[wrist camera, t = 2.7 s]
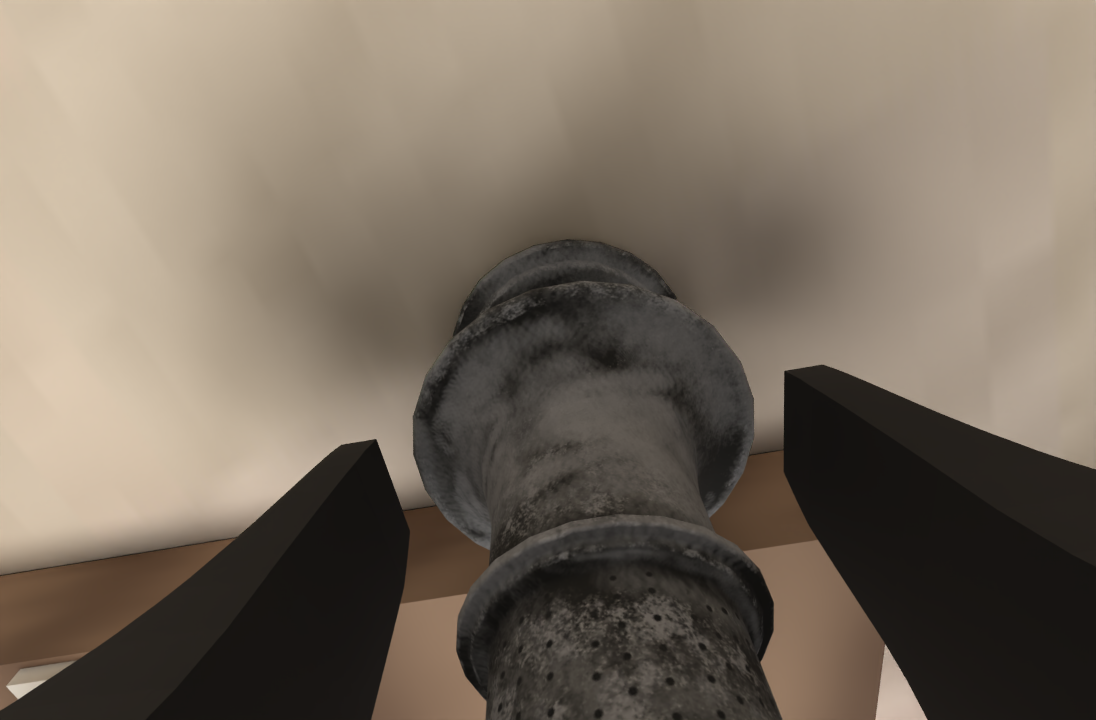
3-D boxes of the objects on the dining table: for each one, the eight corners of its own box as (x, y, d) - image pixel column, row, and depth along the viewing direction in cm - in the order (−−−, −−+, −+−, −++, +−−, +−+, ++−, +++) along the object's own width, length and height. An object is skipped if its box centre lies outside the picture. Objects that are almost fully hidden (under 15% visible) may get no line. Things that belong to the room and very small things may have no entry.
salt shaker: (396, 274, 12) (-455, 1677, 2) (670, 187, 12) (2222, 1491, 1) (491, 486, 15) (407, 1570, 4) (720, 423, 14) (1308, 1503, 4)
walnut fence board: (830, 442, 15) (911, 541, 12) (819, 653, 18) (878, 771, 15) (-75, 588, 16) (-219, 713, 13) (82, 760, 19) (-1, 890, 16)
